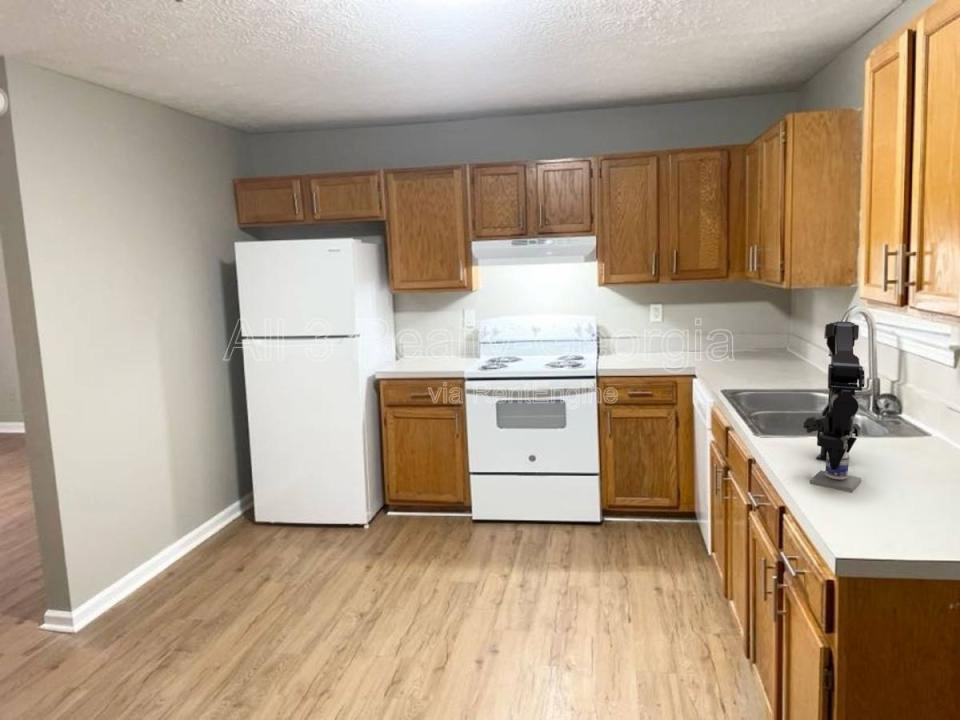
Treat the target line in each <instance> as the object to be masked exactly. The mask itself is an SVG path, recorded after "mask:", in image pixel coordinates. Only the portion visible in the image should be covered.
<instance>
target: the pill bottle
mask: <svg viewBox="0 0 960 720" xmlns="http://www.w3.org/2000/svg"><path fill="white" fill-rule="evenodd" d="M847 446H848V445H847ZM846 451H847V450H846ZM849 463H850V452H849V453H848V452H845V454H844V456H843V458H842V460H841V462H840V464H839V466H838V468H837V469H836V470H832V469H831V464H830V460H829V455H828V452H827V458H826V460H825V470H824V471H825V475H826V476H828V477H830V478H834V479H846V478H847V476H849V475H848V473H849Z"/></svg>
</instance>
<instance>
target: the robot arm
mask: <svg viewBox="0 0 960 720" xmlns="http://www.w3.org/2000/svg"><path fill="white" fill-rule="evenodd" d="M859 331H860V325H857V324H856V323H854V322H852V321H839V320H838V321H833V322H829V323H828V324H825V326H824V332H823V333H824V336H823V338H824V339H825V340H826V346H827V348H828V350H829V352H830V353H831V354H830V356H831V358H830V363H829V364H828V366H827V367H828V368H827V389H828V398H827V404H826V406H825V407H824V408H823V410H822V411H821V412H820V416H811V417H807V418H806V419H805V420H804V421H803V428H804V429H806V430H805V431H806V433H808V434H810V433H811V434H812V432H816V439H817V441H816V446H817V447H820V454H818V455H817V456H816V457H815V459H817V460H822V461H826V458H827V452H828V455H829V460H830V464H831V469H832V470H836V469H837V468H838V466H839V464H840V462H841V460H842V458H843V456H844V454H845V452H848V453H849V454H850V451H851V449H852V448H853V446H854V444H855V443H856V441H857V438H858V437H859V436H860V435H861V432H862V431H861V430H862V429H861V426H860V425H859V424H858V423H854V418H855V417H856V416H857V415H856V414H857V412H858V411H859V403H858V399H857V398H856V391H858V392H862V391H863V388H864V387H865V384H866V383H865V370H864V367H863V366H862V365H860V358H859V357H858V356H856V355H855V354H854V347H855V342H856V341H857V340H858V339H859V336H860V335H859ZM853 434H854V435H855V436H854V437H853ZM856 437H857V438H856ZM847 445H848V446H847ZM846 450H847V451H846Z"/></svg>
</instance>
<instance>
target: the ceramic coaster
mask: <svg viewBox="0 0 960 720" xmlns="http://www.w3.org/2000/svg"><path fill="white" fill-rule="evenodd" d="M861 483H862V478H861V477H857V476H853V475H848V476H847V478H846V479H834V478H830V477H828V476H826V475H825V470H819V471H818V472H817V473H816V474H815V475H813V476H812V477H811V478H810V479H809V485H811V486H817V487H821V488H822V487H823V488H828V489H831V490H836V491H842V492H845V493H846V492H847V493H850V494H851V493H853V492H854V491H855V490H856V489H857V487H858V486H859V485H861Z"/></svg>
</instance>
